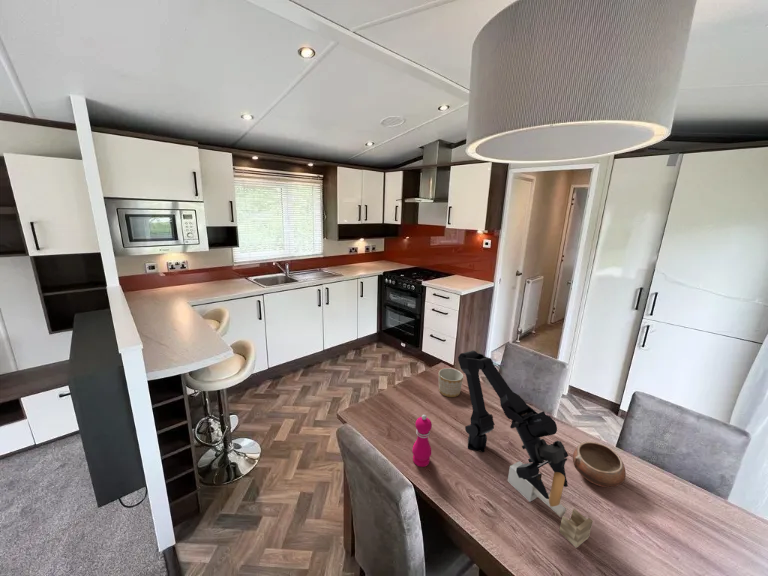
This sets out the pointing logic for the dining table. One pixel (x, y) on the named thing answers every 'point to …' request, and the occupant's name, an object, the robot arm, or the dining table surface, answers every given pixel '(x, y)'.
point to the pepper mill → (422, 442)
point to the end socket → (576, 528)
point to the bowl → (599, 464)
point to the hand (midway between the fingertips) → (557, 492)
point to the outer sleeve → (521, 483)
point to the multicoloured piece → (554, 494)
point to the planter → (450, 382)
